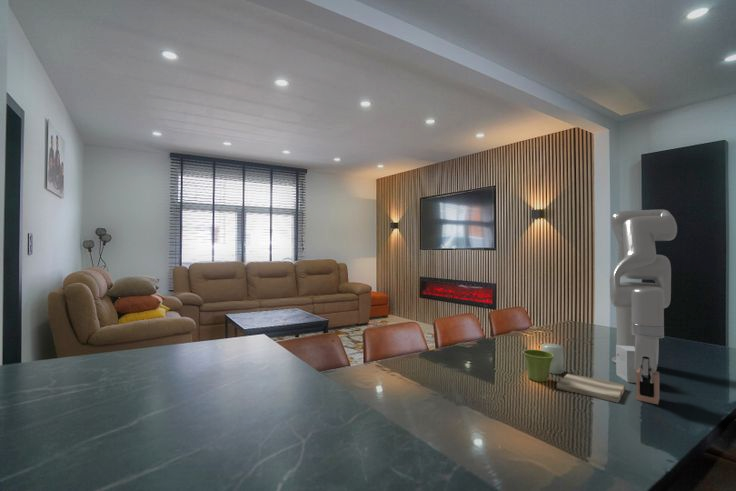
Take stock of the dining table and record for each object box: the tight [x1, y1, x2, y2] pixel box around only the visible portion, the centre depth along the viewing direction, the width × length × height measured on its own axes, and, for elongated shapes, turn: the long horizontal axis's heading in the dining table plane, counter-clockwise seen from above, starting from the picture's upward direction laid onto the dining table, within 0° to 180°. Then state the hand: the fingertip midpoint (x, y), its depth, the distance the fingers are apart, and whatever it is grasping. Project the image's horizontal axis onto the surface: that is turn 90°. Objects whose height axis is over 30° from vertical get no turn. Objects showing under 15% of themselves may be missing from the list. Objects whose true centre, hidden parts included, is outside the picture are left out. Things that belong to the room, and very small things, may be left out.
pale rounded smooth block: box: [541, 343, 565, 375], centre depth 132 cm, size 7×7×9 cm
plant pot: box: [522, 349, 554, 383], centre depth 123 cm, size 9×9×9 cm
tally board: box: [556, 372, 626, 404], centre depth 114 cm, size 14×16×2 cm
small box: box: [615, 344, 641, 384], centre depth 124 cm, size 8×6×10 cm
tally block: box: [635, 369, 660, 405], centre depth 106 cm, size 5×5×8 cm
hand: (647, 392), depth 106 cm, fingers closed on tally block, 5 cm apart
